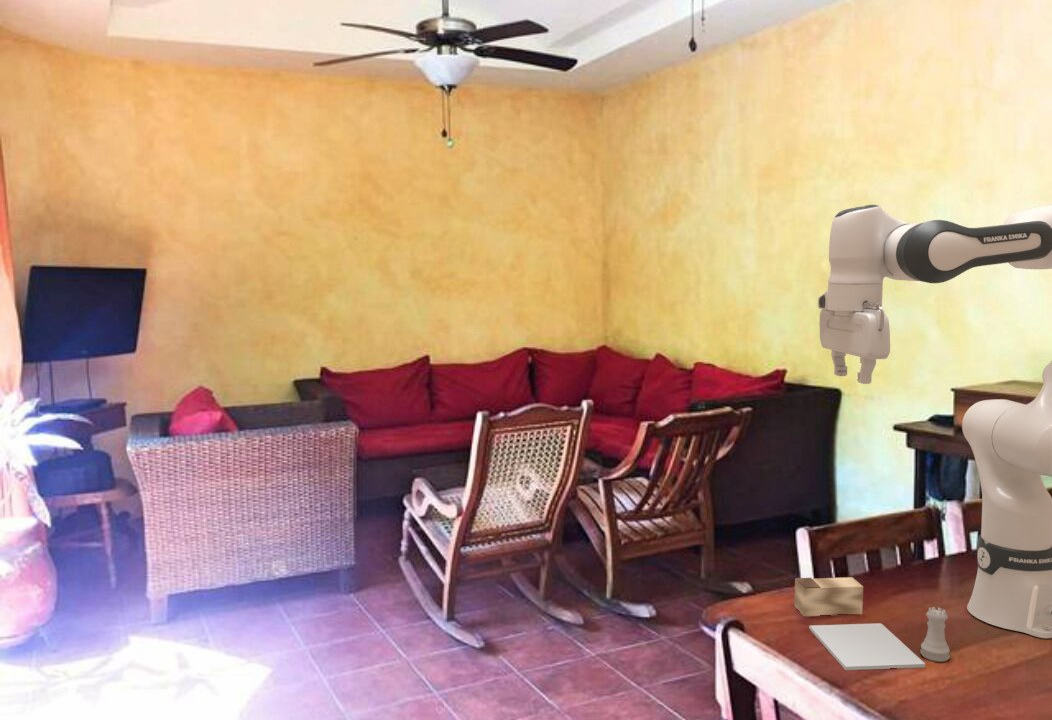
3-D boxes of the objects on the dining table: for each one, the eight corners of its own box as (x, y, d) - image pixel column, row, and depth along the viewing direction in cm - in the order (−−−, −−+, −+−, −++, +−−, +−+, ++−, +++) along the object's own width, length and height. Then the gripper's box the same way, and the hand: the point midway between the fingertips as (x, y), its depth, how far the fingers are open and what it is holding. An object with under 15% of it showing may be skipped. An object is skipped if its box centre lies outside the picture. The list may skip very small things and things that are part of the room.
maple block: (851, 605, 156) (852, 576, 155) (862, 615, 152) (863, 585, 151) (794, 607, 155) (795, 578, 155) (803, 617, 151) (804, 587, 150)
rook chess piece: (953, 664, 132) (956, 616, 131) (923, 661, 133) (926, 614, 132) (945, 651, 137) (947, 605, 136) (916, 649, 138) (918, 603, 137)
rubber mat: (880, 626, 146) (881, 623, 146) (925, 667, 131) (925, 663, 131) (809, 628, 146) (809, 625, 146) (845, 670, 131) (845, 666, 131)
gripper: (902, 302, 132) (899, 387, 134) (847, 297, 152) (845, 371, 154) (863, 303, 132) (861, 388, 133) (813, 298, 152) (811, 372, 154)
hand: (852, 379), depth 144 cm, fingers open, 8 cm apart
